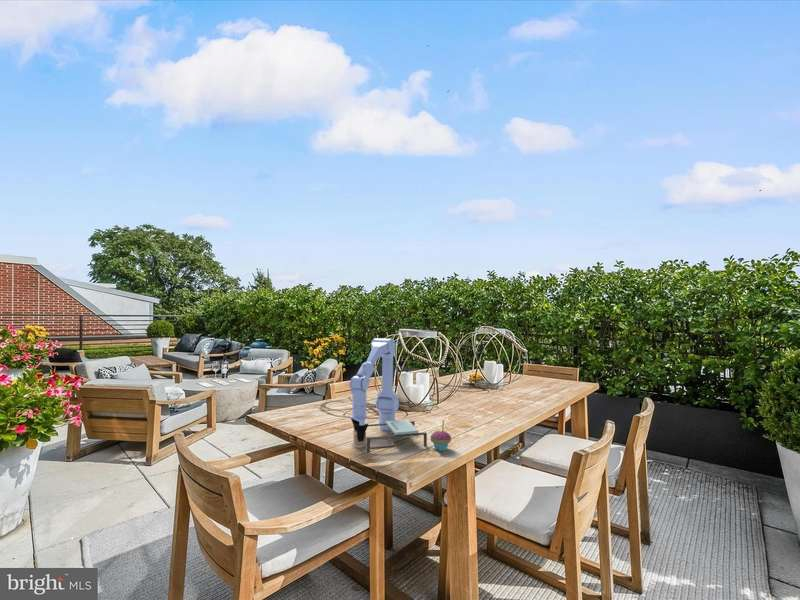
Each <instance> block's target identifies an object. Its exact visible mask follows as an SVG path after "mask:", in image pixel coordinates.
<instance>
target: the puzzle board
mask: <svg viewBox="0 0 800 600" xmlns="http://www.w3.org/2000/svg"><path fill="white" fill-rule="evenodd" d="M408 421H409V422H410V423H411V424H412V425H413V426H414V427H416V426H415V420H408ZM367 424H368V427H377V426H382V425H387V424H386V423H381V424H379V423H370V424H369V423H367ZM368 427H367V428H368ZM427 434H428V433H427V432H425V431H424V432H419V433H413V434H402V435H395V434H391V435H389V434H388V435H380V436H378V435H376V436H366V445H363V446H355V445H354V443H353V442H352V443H351V444H350V446H351V447H353V448H364V447H366V452H371V450H374V449H375V450H376V449H385V448H386V449H387V448H394V447H395V446H396V445H395V443H394V442H393V440H392V439H391V438H399V437H400V438H401V437H412V436H413V437H414V436H423V446H424V447H427V446H428V445H427V444H428V443H427V442H428V440H427V439H428V437H427Z"/></svg>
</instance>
